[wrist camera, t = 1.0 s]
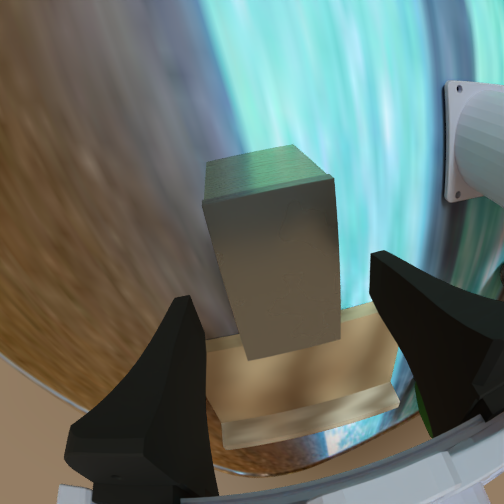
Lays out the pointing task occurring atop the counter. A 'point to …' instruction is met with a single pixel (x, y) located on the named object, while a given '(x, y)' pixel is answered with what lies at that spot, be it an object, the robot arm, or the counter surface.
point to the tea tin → (276, 248)
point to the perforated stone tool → (502, 275)
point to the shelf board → (302, 383)
